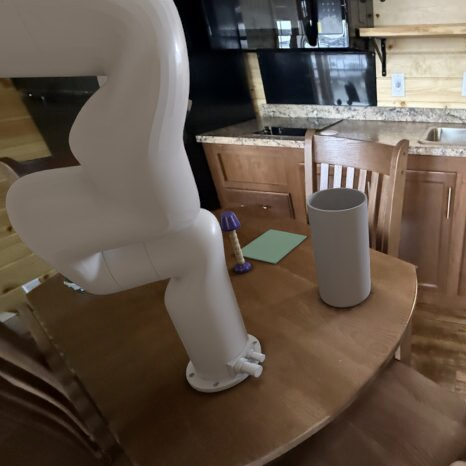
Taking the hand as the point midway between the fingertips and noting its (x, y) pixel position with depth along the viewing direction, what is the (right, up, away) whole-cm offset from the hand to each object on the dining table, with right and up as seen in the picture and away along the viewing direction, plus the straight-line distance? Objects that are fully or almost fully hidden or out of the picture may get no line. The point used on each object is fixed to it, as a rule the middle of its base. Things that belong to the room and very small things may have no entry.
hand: (156, 146), depth 65 cm
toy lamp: (+7, -28, +21) cm, 36 cm away
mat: (+11, -22, +32) cm, 40 cm away
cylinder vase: (+37, -33, +13) cm, 51 cm away
